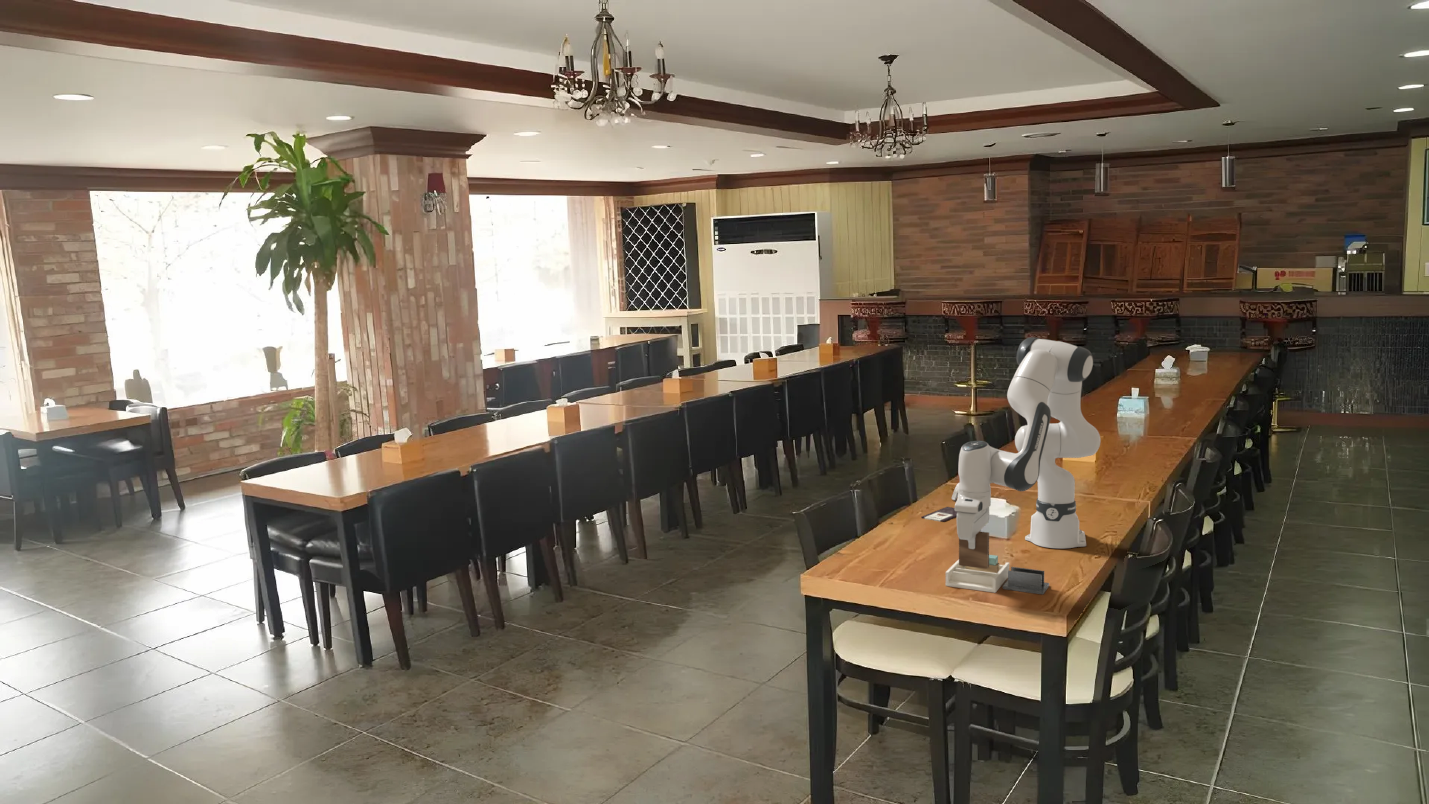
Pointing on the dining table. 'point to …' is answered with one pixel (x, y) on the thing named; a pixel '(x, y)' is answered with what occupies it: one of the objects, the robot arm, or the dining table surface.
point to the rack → (976, 578)
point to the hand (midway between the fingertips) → (974, 546)
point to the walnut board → (975, 552)
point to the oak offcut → (990, 569)
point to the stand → (1026, 580)
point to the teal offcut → (993, 560)
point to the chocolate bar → (942, 514)
